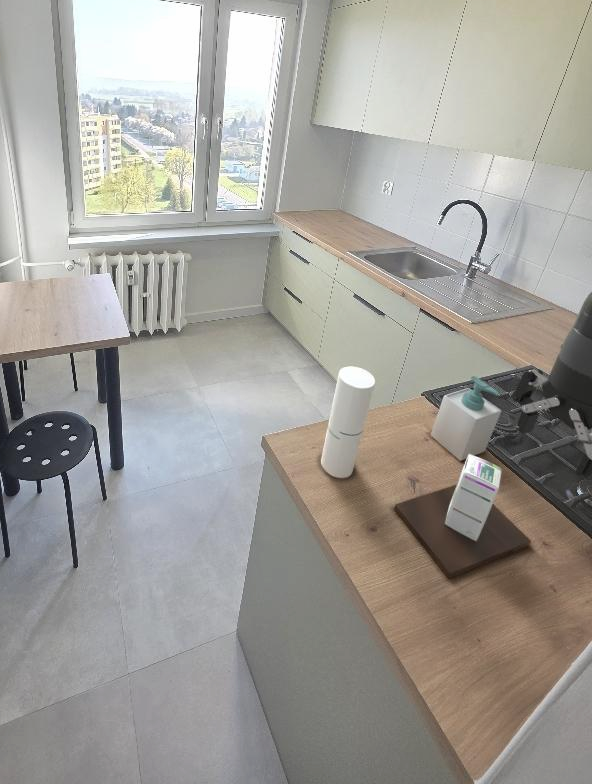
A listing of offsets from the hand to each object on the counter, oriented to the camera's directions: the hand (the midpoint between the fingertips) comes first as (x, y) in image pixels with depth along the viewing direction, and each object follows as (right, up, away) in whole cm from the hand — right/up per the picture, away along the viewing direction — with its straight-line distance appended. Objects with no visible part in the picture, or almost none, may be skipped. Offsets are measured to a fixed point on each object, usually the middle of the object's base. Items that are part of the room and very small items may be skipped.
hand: (551, 451), depth 63 cm
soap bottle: (+10, -16, +40) cm, 44 cm away
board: (-2, -24, +20) cm, 31 cm away
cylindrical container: (-22, -17, +33) cm, 44 cm away
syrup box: (-2, -23, +19) cm, 30 cm away
